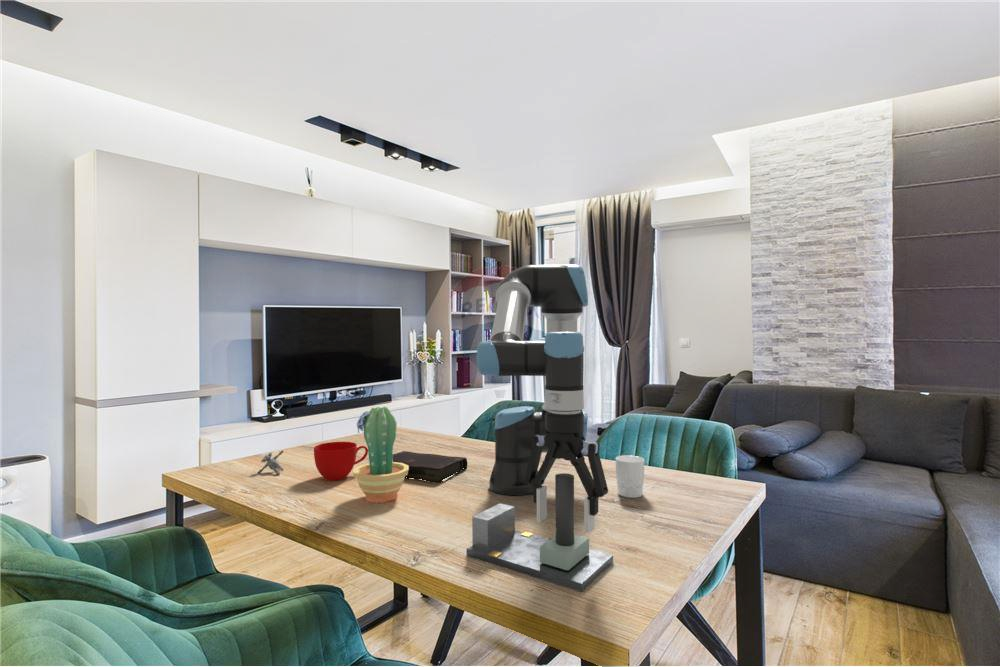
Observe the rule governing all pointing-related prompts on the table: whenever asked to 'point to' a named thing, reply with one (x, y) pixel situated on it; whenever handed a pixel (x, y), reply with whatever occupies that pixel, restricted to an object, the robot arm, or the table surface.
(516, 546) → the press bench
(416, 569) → the table surface
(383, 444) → the potted cactus
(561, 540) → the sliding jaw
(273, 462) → the grey figurine
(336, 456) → the ceramic cup
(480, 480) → the table surface
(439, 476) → the diary
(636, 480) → the white cup
